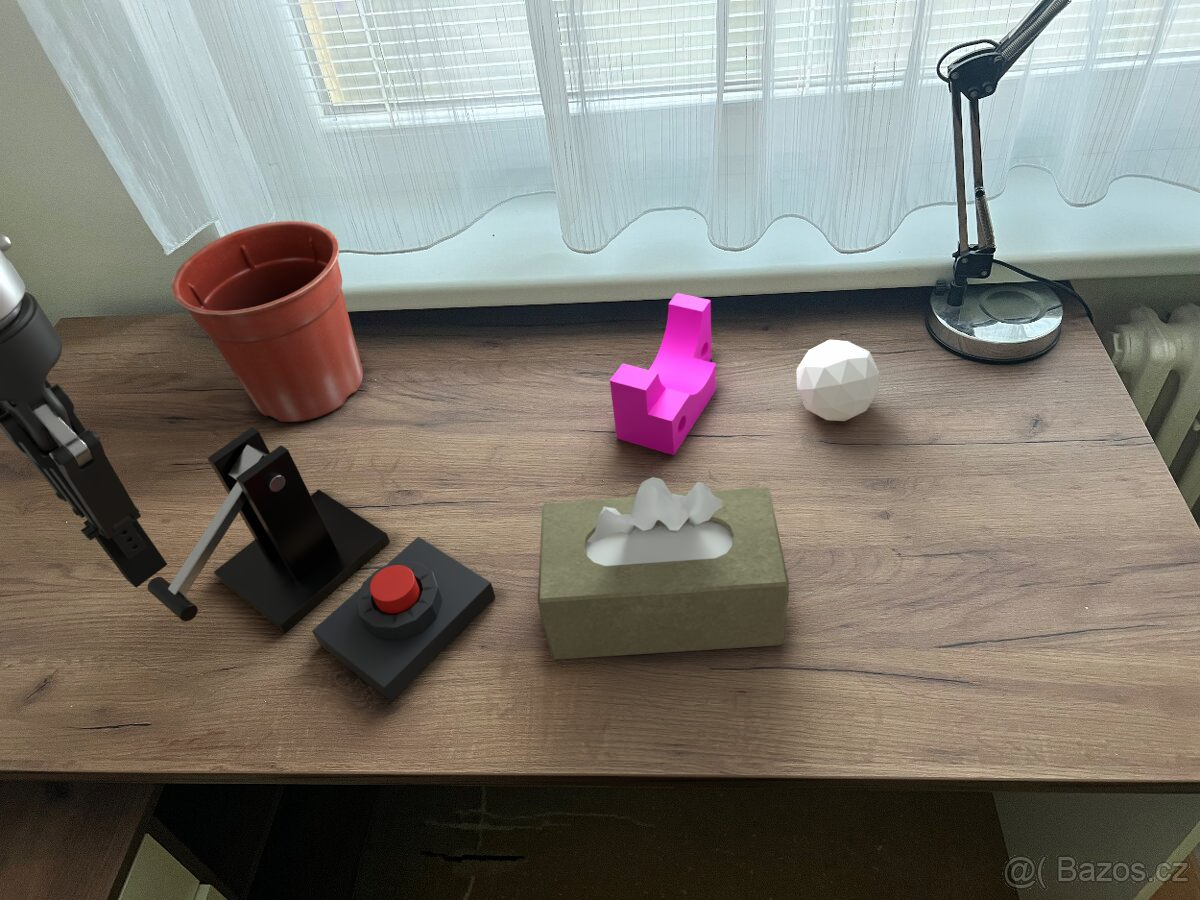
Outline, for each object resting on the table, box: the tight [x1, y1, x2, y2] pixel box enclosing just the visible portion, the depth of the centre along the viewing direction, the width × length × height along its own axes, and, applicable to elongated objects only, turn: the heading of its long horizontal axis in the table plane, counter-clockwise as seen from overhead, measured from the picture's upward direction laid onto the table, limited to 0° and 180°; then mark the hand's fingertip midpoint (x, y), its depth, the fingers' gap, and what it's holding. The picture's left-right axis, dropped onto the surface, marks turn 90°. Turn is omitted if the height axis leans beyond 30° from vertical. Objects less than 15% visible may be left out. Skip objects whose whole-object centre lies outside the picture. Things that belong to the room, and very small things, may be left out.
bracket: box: [207, 426, 391, 634], centre depth 75 cm, size 12×10×14 cm
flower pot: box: [170, 220, 364, 423], centre depth 92 cm, size 16×16×16 cm
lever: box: [146, 445, 268, 622], centre depth 70 cm, size 14×5×2 cm, turn 139°
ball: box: [795, 339, 880, 422], centre depth 84 cm, size 8×8×8 cm
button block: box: [311, 536, 496, 702], centre depth 72 cm, size 12×9×4 cm
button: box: [370, 565, 419, 614], centre depth 70 cm, size 4×4×2 cm
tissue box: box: [537, 476, 790, 660], centre depth 67 cm, size 19×10×16 cm, turn 90°
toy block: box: [609, 292, 717, 456], centre depth 87 cm, size 15×6×8 cm, turn 151°
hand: (146, 571), depth 67 cm, fingers closed
